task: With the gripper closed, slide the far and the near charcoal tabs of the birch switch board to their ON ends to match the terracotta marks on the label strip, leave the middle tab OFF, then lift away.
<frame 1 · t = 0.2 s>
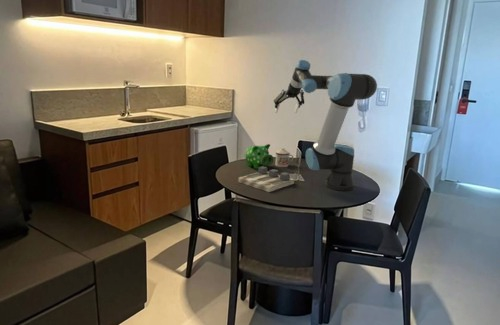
hand: (285, 111, 233), 35 cm above the table, tool tilted 35°, fingers open, 13 cm apart
near tab: (284, 176, 203), point 4 cm above the table, slide at 0.0 cm
far tab: (262, 170, 213), point 4 cm above the table, slide at 0.0 cm
piggy bank: (257, 167, 236), on the table
teacup with lid: (283, 165, 242), on the table
switch board: (266, 182, 205), on the table
middle tab: (273, 173, 208), point 4 cm above the table, slide at 0.0 cm
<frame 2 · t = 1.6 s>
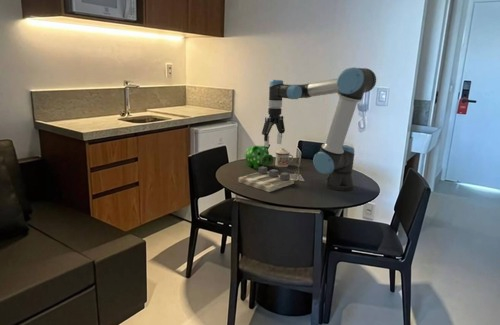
hand: (272, 145, 216), 18 cm above the table, tool pointing down, fingers open, 11 cm apart
nothing on the table moved.
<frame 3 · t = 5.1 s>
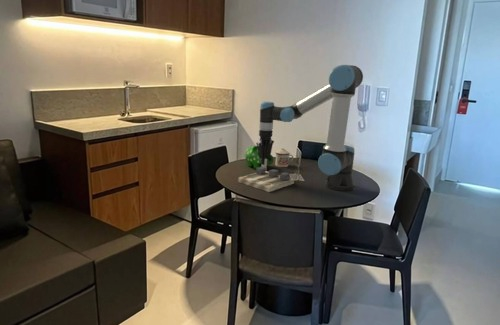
hand: (263, 169, 214), 5 cm above the table, tool pointing down, fingers closed
far tab: (260, 170, 212), point 4 cm above the table, slide at 1.6 cm, touching gripper
everything else where it was.
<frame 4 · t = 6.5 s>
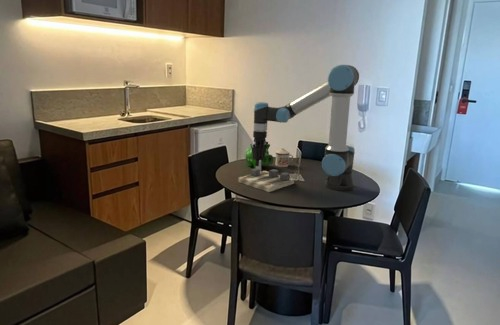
hand: (258, 171, 210), 4 cm above the table, tool pointing down, fingers closed
far tab: (255, 172, 208), point 4 cm above the table, slide at 6.7 cm, touching gripper
everything else where it was.
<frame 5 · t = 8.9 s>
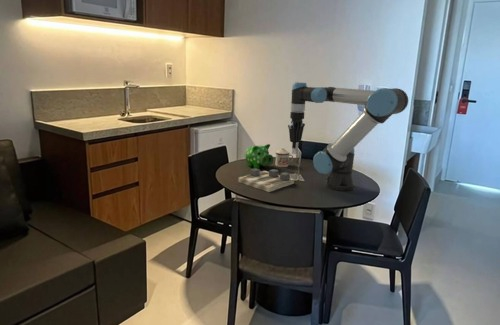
hand: (294, 153, 206), 16 cm above the table, tool pointing down, fingers closed
far tab: (255, 172, 208), point 4 cm above the table, slide at 6.7 cm
everything else where it was.
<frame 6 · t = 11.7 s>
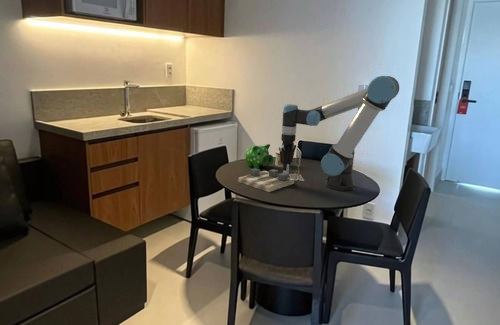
hand: (285, 175, 204), 5 cm above the table, tool pointing down, fingers closed
near tab: (282, 176, 202), point 4 cm above the table, slide at 1.7 cm, touching gripper
everything else where it was.
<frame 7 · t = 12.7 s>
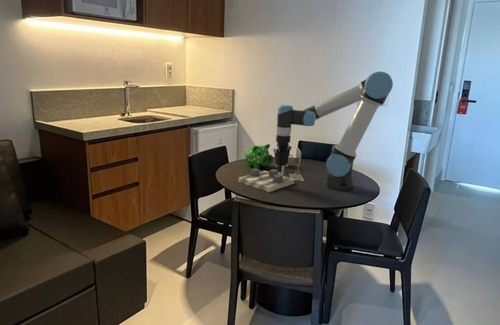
hand: (280, 177, 200), 5 cm above the table, tool pointing down, fingers closed
near tab: (277, 178, 198), point 4 cm above the table, slide at 6.3 cm, touching gripper
everything else where it was.
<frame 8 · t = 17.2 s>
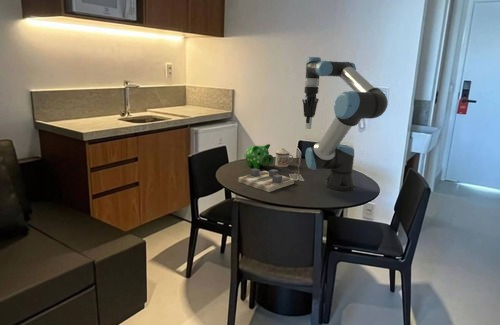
hand: (308, 128, 209), 29 cm above the table, tool pointing down, fingers closed
near tab: (277, 178, 198), point 4 cm above the table, slide at 6.7 cm
everything else where it was.
at the end: far tab slide at 6.7 cm; near tab slide at 6.7 cm; middle tab slide at 0.0 cm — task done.
